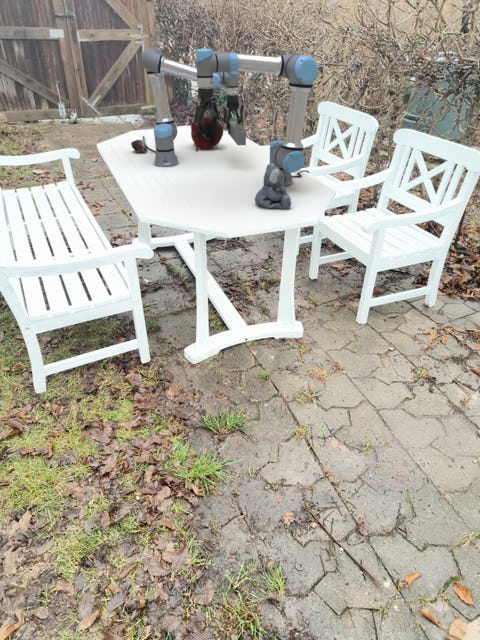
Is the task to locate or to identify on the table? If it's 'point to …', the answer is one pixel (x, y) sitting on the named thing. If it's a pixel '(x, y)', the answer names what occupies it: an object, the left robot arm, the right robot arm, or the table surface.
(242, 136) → the bar
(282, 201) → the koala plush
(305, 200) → the table surface
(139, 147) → the rock
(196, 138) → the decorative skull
